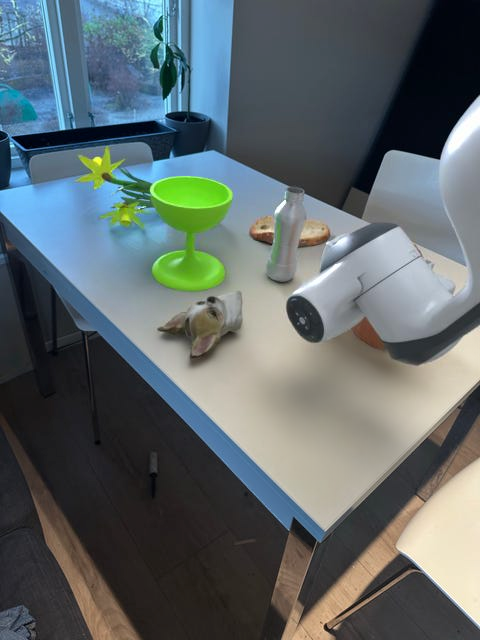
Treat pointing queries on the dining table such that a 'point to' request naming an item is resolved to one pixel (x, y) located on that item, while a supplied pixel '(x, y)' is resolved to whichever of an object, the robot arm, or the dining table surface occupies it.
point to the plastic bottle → (287, 235)
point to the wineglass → (190, 229)
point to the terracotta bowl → (368, 333)
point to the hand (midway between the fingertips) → (410, 256)
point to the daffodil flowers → (126, 209)
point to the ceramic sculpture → (208, 322)
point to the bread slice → (310, 234)
